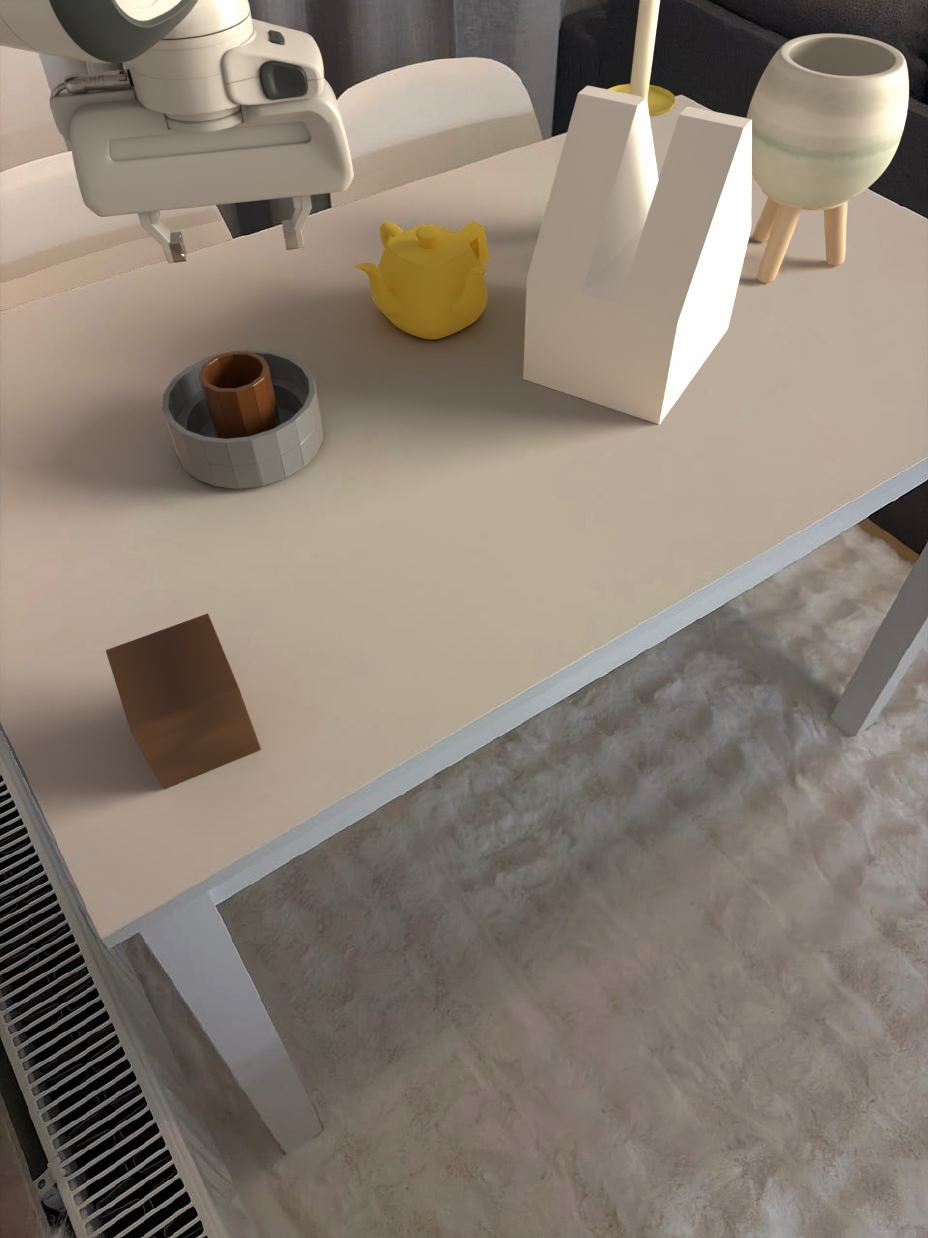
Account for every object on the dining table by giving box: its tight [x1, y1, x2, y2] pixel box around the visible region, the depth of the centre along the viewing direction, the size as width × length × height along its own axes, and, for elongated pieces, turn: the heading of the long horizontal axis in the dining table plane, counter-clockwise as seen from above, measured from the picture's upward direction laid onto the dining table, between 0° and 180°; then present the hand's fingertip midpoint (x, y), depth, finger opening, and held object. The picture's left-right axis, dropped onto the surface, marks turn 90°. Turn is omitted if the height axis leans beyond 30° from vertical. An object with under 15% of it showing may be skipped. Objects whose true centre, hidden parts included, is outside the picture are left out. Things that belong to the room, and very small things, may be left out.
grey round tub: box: [161, 348, 324, 490], centre depth 88 cm, size 14×14×6 cm
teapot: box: [354, 220, 491, 340], centre depth 100 cm, size 14×13×10 cm
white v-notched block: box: [522, 85, 752, 425], centre depth 89 cm, size 19×15×25 cm
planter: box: [745, 33, 910, 284], centre depth 101 cm, size 16×16×22 cm
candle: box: [607, 0, 676, 118], centre depth 103 cm, size 10×10×32 cm
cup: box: [199, 350, 281, 439], centre depth 87 cm, size 6×6×8 cm
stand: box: [105, 613, 262, 790], centre depth 66 cm, size 7×7×8 cm
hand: (236, 252), depth 74 cm, fingers open, 8 cm apart
